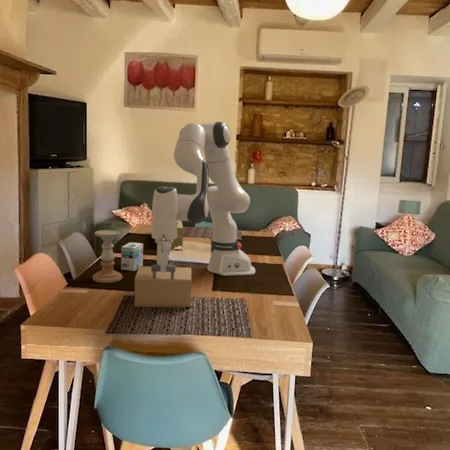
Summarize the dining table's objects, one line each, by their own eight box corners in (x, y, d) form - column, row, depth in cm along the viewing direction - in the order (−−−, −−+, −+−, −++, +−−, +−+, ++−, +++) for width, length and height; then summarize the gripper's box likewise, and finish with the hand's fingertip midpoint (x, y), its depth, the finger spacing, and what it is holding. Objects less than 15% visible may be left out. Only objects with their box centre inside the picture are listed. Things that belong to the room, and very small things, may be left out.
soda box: (182, 251, 250) (183, 227, 248) (157, 250, 248) (157, 227, 246) (180, 235, 290) (180, 214, 287) (158, 234, 288) (158, 214, 285)
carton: (190, 293, 183) (191, 269, 181) (190, 307, 168) (191, 281, 166) (139, 292, 181) (139, 267, 179) (134, 306, 166) (134, 279, 165)
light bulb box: (134, 271, 209) (134, 248, 207) (120, 269, 210) (120, 246, 208) (143, 265, 219) (143, 243, 217) (129, 263, 220) (130, 241, 218)
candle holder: (107, 285, 188) (107, 236, 184) (86, 279, 194) (85, 232, 190) (128, 278, 198) (129, 232, 194) (108, 272, 204) (108, 228, 201)
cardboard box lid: (191, 269, 181) (191, 255, 180) (191, 282, 165) (191, 266, 164) (139, 267, 179) (139, 253, 178) (134, 280, 163) (134, 265, 162)
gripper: (172, 239, 152) (171, 279, 155) (174, 227, 172) (173, 263, 175) (152, 238, 152) (152, 279, 154) (157, 226, 172) (156, 262, 174)
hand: (163, 270), depth 165 cm, fingers closed on cardboard box lid, 2 cm apart
